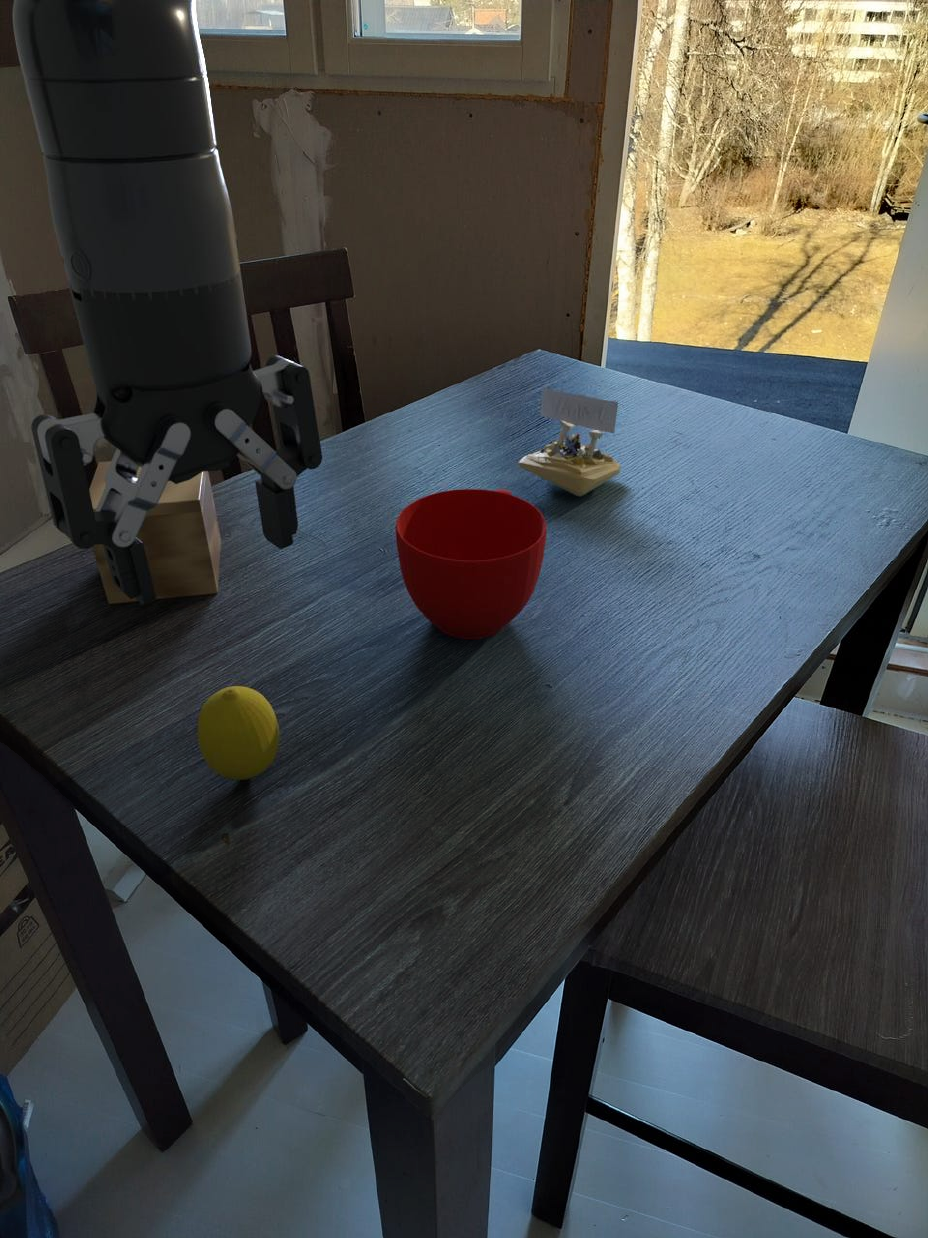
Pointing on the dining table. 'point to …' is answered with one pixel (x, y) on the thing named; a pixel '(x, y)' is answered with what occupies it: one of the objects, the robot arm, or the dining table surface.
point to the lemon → (238, 733)
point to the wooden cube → (171, 540)
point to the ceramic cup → (470, 558)
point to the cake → (575, 443)
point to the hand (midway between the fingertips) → (213, 568)
